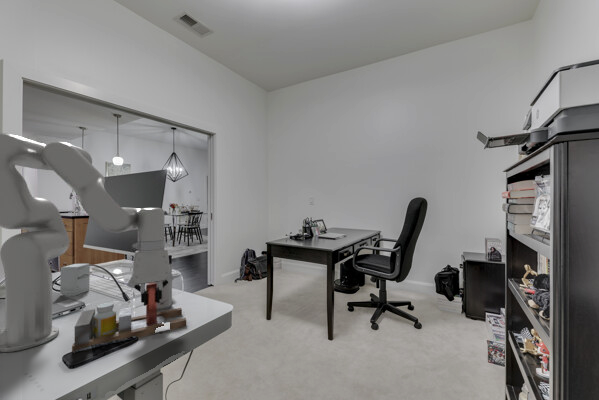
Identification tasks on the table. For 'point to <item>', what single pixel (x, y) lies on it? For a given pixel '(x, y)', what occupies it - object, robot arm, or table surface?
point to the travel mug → (166, 292)
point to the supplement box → (74, 279)
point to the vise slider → (151, 312)
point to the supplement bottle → (104, 320)
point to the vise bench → (86, 328)
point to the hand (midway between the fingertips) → (151, 302)
